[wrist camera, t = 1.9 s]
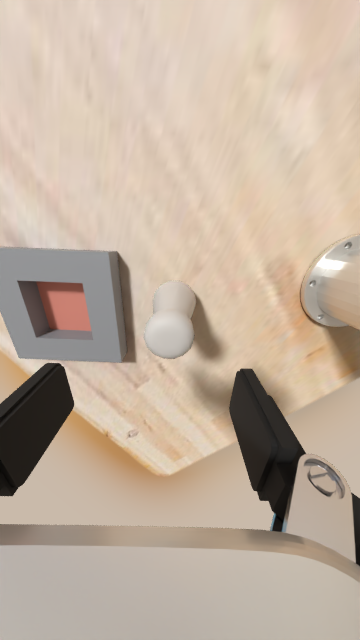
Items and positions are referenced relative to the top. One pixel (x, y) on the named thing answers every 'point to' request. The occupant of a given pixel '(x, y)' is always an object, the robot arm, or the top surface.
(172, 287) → the white bulbous peg
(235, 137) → the top surface
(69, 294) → the socket board
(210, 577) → the robot arm
